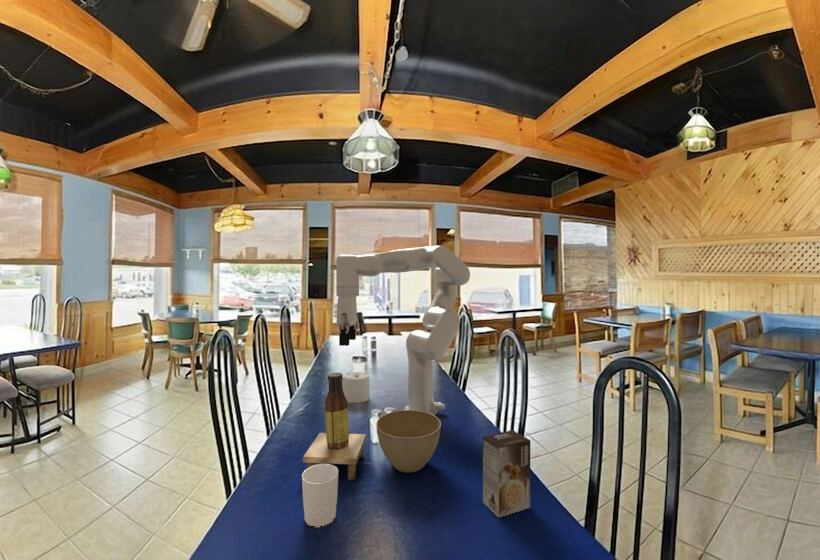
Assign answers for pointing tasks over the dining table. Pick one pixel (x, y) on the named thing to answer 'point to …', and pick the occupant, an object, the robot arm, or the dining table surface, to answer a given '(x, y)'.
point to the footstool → (336, 453)
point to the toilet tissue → (356, 387)
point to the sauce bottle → (336, 413)
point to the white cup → (320, 494)
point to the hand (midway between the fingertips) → (347, 342)
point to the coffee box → (506, 473)
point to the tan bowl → (408, 438)
